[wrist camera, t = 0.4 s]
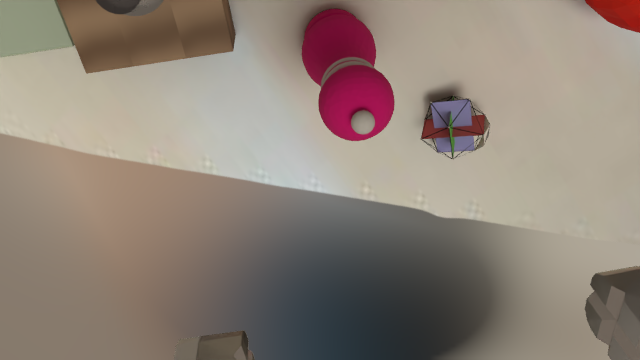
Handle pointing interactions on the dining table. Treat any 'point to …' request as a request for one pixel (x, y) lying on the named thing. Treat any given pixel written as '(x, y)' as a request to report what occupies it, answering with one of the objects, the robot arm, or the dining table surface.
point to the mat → (32, 27)
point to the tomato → (619, 12)
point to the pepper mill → (347, 75)
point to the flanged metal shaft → (130, 6)
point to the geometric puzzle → (455, 126)
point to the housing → (148, 32)
